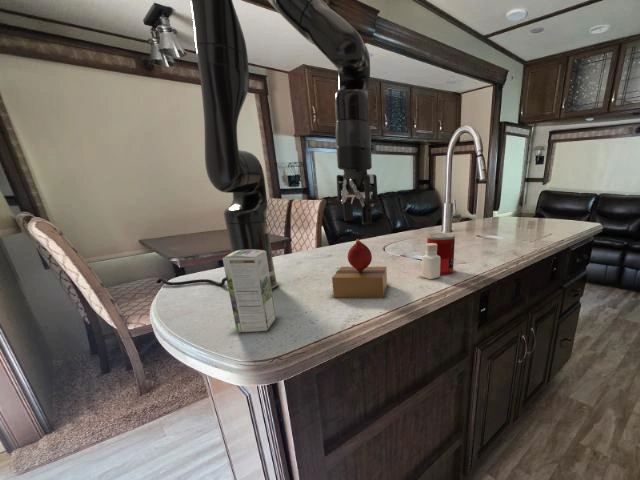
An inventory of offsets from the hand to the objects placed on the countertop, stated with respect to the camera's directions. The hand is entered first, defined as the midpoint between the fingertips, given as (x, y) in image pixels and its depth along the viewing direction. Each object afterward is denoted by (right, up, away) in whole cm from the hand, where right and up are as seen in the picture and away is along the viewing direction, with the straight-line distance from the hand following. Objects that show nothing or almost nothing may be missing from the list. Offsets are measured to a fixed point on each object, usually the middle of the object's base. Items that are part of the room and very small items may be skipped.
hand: (357, 222), depth 74 cm
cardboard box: (0, -16, +6) cm, 17 cm away
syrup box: (-18, -24, -13) cm, 32 cm away
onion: (0, -12, +4) cm, 12 cm away
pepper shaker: (+19, -12, +16) cm, 28 cm away
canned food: (+22, -10, +22) cm, 33 cm away
